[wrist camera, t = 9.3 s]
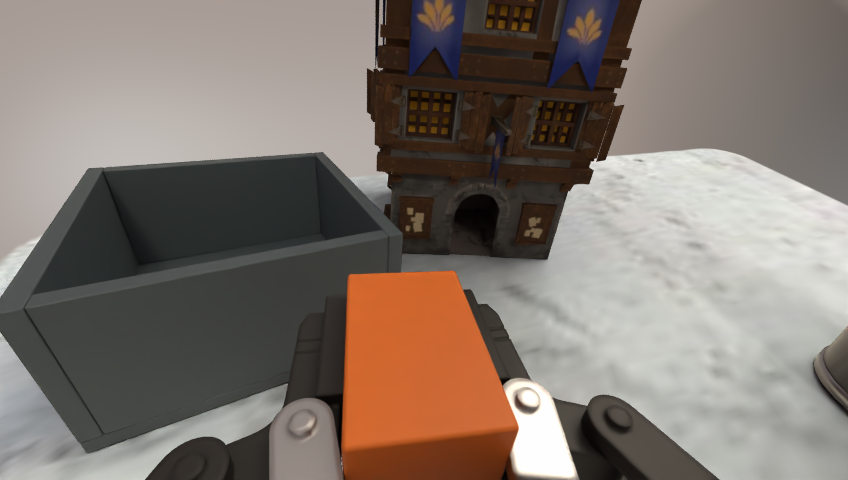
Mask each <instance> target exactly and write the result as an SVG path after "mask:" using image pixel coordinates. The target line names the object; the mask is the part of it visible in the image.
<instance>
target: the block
mask: <svg viewBox="0 0 848 480" xmlns="http://www.w3.org/2000/svg"><path fill="white" fill-rule="evenodd" d="M518 431H519V425H518V422H517V420H516V418H515V415H514V413H513V410H512V408H511V405H510V403H509V401H508V398H507V396H506V393H505V391H504V388H503V386H502V384H501V381H500V379H499V376H498V374H497V371H496V369H495V367H494V364H493V362H492V359H491V357H490V354H489V352H488V350H487V347H486V345H485V342H484V340H483V337H482V335H481V333H480V330H479V328H478V325H477V323H476V320H475V318H474V316H473V313H472V311H471V308H470V306H469V303H468V301H467V299H466V296H465V294H464V291H463V289H462V286H461V284H460V282H459V279H458V277H457V274H456V272H455V271H431V272H402V273H372V274H350V275H349V276H348V279H347V306H346V333H345V361H344V388H343V415H342V443H341V450H342V464H343V477H344V480H501V479H502V476H503V473H504V470H505V468H506V462H507V459H508V456H509V454H510V452H511V451H512V448H513V445H514V442H515V440H516V437H517V434H518Z"/></svg>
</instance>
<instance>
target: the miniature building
mask: <svg viewBox="0 0 848 480" xmlns="http://www.w3.org/2000/svg"><path fill="white" fill-rule="evenodd" d="M641 1H642V0H387V7H386V25H385V4H386V3H385V2H386V0H383V25H382V24H381V31H380V34H381V35H380V37H383V45H382V46H378V30H379V0H376V47H375V51H376V52H375V53H376V54H375V56H376V58H377V62H378V68H383V70H380V72H379V71H378V70H377V69H374V73H373V71H371V70H369V69H367V112H368V113H369V114H371V119H372V121H373V122H375V145H377V146H379V148H380V152H378V154H377V171H383V172H386V173H387V174H389V175H388V183H387V186H388V187H389V189H391V191H392V192H391V204H385V210H384V215H385V216H386V217H387V218H388V219H389V220H390V221H391V222H392V223H393V224H394V225H395V226H396V227H397V228H398V229H399V230H400V231H401V232H402V233H403V239H402V253H420V254H443V255H449V254H462V255H485V256H491V257H513V258H536V259H548V256H549V252H550V249H551V246H552V243H553V239H554V236H555V233H556V229H557V226H558V223H559V220H560V216H561V213H562V210H563V207H564V203H565V200H566V197H567V193H568V191H570V190H571V189H572V187H573V186H574V185H575V184H589V183H590V180H591V177H592V174H593V170H592V169H591V168H589V166H590V163H591V161H594V158H597V155H598V152H599V149H600V146H601V149H600V152H599V155H598V158H597V161H596V162H598V161H603V160H606V157H607V154H608V151H609V148H610V145H611V142H612V139H613V136H614V133H615V131H616V128H617V125H618V122H619V119H620V115H621V113H622V110H623V107H624V105H620V106H614V102H615V99H616V96H617V94H616V93H613V92H614V89H615V88H621V86H622V83H623V80H624V77H625V74H626V71H627V68H621V67H620V66H621V63H622V60H628V59H629V56H630V53H631V50H632V49H631V48H627V44H628V41H629V38H630V35H631V32H632V29H633V26H634V23H635V20H636V17H637V13H638V10H639V7H640V4H641ZM385 38H386V44H385V45H384V39H385ZM376 58H375V60H376ZM375 63H376V62H375ZM375 65H376V64H375ZM612 102H613V103H612ZM613 107H614V108H613ZM612 110H613V111H612ZM611 113H612V114H611ZM610 116H611V117H610ZM609 119H610V120H609ZM608 122H609V124H608ZM607 125H608V127H607ZM606 128H607V130H606ZM605 131H606V133H605ZM604 134H605V136H604ZM603 137H604V139H603ZM602 140H603V142H602ZM601 143H602V145H601ZM391 173H392V174H391ZM390 185H391V186H390Z"/></svg>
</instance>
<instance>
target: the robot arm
mask: <svg viewBox="0 0 848 480" xmlns="http://www.w3.org/2000/svg"><path fill="white" fill-rule="evenodd" d="M463 291H464V294H465V296H466V299H467V301H468V303H469V306H470V308H471V311H472V313H473V316H474V318H475V320H476V323H477V325H478V328H479V330H480V333H481V335H482V337H483V340H484V342H485V345H486V347H487V350H488V352H489V354H490V357H491V359H492V362H493V364H494V367H495V369H496V371H497V374H498V376H499V379H500V381H501V384H502V386H503V388H504V391H505V393H506V396H507V398H508V401H509V403H510V405H511V408H512V410H513V413H514V415H515V418H516V420H517V422H518V425H519V431H518V434H517V437H516V440H515V442H514V445H513V448H512V451H511V452H510V454H509V456H508V459H507V462H506V468H505V470H504V473H503V476H502V479H501V480H719V479H718V478H717V477H716V476H714V475H713V474H712V473H711V472H710V471H708V470H707V469H706V468H705V467H704V466H702V465H701V464H700V463H699V462H698V461H697V460H695V459H694V458H693V457H692V456H691V455H689V454H688V453H687V452H686V451H685V450H683V449H682V448H681V447H680V446H679V445H677V444H676V443H675V442H674V441H673V440H671V439H670V438H669V437H668V436H667V435H666V434H664V433H663V432H662V431H661V430H660V429H658V428H657V427H656V426H655V425H654V424H652V423H651V422H650V421H649V420H648V419H646V418H645V417H644V416H643V415H642V414H640V413H639V412H638V411H637V410H636V409H634V408H633V407H632V406H631V405H629V404H628V403H626V402H625V401H623V400H621V399H619V398H616V397H614V396H609V395H599V396H595V397H594V398H592V399H591V400H590V402H589V404H588V406H585V405H580V404H575V403H571V402H566V401H561V400H558V399H555V398H552V397H551V395H550V394H549V393H548V391H547V390H546V389H545V388H544V387H542V386H541V385H540V384H538V383H536V382H534V381H532V380H531V379H530V377H529V375H528V373H527V371H526V369H525V367H524V365H523V363H522V361H521V359H520V357H519V355H518V353H517V351H516V349H515V347H514V345H513V343H512V341H511V339H509V335H508V333H507V331H506V329H504V325H503V323H502V321H501V319H500V317H499V315H498V314H497V313H496V312H495V311H494V310H493V309H492V308H491V307H490V306H488V305H487V304H478V303H477V301H476V299H475V297H474V294H473V292H472V291H471V290H470V289H469V290H463ZM346 306H347V295H332V296H326V302H325V310H324V312H322V313H309V314H308V315H307V316H306V318H305V319H304V320H303V322H302V323H301V324H300V326H299V330H298V335H297V343H296V346H295V351H294V356H293V361H292V367H291V372H290V377H289V382H288V387H287V393H286V398H285V402H284V405H283V407H282V409H281V410H280V412H279V413H278V414H277V415H276V417H275V418H274V420H273V421H272V422H271V423H270V424H268V425H267V426H266V427H265V428H263V429H261V430H260V431H258V432H256V433H254V434H252V435H249V436H247V437H244V438H242V439H240V440H237V441H235V442H232V443H230V444H227V445H225V443H224V442H223V441H221V440H220V439H217V438H214V437H200V438H196V439H192V440H190V441H187V442H185V443H183V444H181V445H180V446H178V447H177V448H175V449H174V450H172V451H171V452H170V453H169V454H168V455H166V456H165V457H164V458H163V460H162V461H161V462H160V463H159V464H158V465H157V466H156V468H155V469H154V470H153V471H152V472H151V473H150V475H149V476H148V477H147V478H146V479H145V480H344V478H343V471H342V465H341V457H342V450H341V443H342V415H343V388H344V361H345V333H346ZM814 367H815V371H816V374H817V376H818V377H819V379H820V381H821V382H822V384H823V385H824V386H825V388H826V389H827V390H828V391H829V392H830V393H831V395H832V396H833V397H834V398H835V399H836V400H837V401H838V402H839V403H840V404H841V405H842V406H844V407H845V408H846V409H847V410H848V326H847V327H846V328H845V329H844V330H843V332H842V333H841V334H840V335H839V336H838V337H837V338H836V339H835V340H834V342H833V343H832V344H831V345H829V346H827V347H825V348H824V349H823V350H822V351H821V352H820V353H819V354H818V355H817V357H816V358H815V361H814Z"/></svg>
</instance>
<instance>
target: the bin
mask: <svg viewBox="0 0 848 480" xmlns="http://www.w3.org/2000/svg"><path fill="white" fill-rule="evenodd" d="M402 239H403V233H402V232H401V231H400V230H399V229H398V228H397V227H396V226H395V225H394V224H393V223H392V222H391V221H390V220H389V219H388V218H387V217H386V216H385V215H384V214H383V213H382V212H381V211H380V210H379V209H378V208H377V207H376V206H375V205H374V204H373V203H372V202H371V201H370V200H369V199H368V198H367V197H366V196H365V195H364V194H363V193H362V192H361V191H360V190H359V189H358V188H357V186H356V185H355V184H354V183H353V182H352V181H351V180H350V179H349V178H348V177H347V176H346V175H345V174H344V173H343V172H342V171H341V170H340V169H339V168H338V167H337V166H336V165H335V164H334V163H333V162H332V161H331V160H330V159H329V158H328V157H327V156H326V155H325V154H324V153H323V152H320V153H306V154H294V155H293V154H292V155H278V156H263V157H249V158H234V159H221V160H205V161H191V162H178V163H163V164H148V165H134V166H120V167H106V168H89V169H88V170H87V171H86V173H85V174H84V175H83V177H82V178H81V180H80V181H79V183H78V184H77V186H76V187H75V189H74V190H73V192H72V193H71V195H70V196H69V198H68V199H67V201H66V202H65V203H64V205H63V206H62V208H61V210H60V211H59V212H58V214H57V215H56V217H55V218H54V220H53V221H52V223H51V224H50V226H49V227H48V229H47V230H46V231H45V233H44V234H43V236H42V237H41V239H40V240H39V242H38V243H37V245H36V246H35V248H34V249H33V251H32V252H31V254H30V255H29V256H28V258H27V259H26V261H25V262H24V264H23V265H22V267H21V268H20V270H19V271H18V273H17V274H16V276H15V277H14V279H13V280H12V282H11V283H10V284H9V286H8V287H7V289H6V290H5V292H4V293H3V295H2V296H1V298H0V332H1V334H2V335H3V336H4V338H5V339H6V341H7V342H8V343H9V345H10V346H11V348H12V349H13V350H14V352H15V353H16V355H17V356H18V357H19V359H20V360H21V362H22V363H23V365H24V366H25V367H26V369H27V370H28V372H29V373H30V374H31V376H32V377H33V379H34V380H35V381H36V383H37V384H38V386H39V387H40V388H41V390H42V391H43V393H44V394H45V396H46V397H47V398H48V400H49V401H50V403H51V404H52V405H53V407H54V408H55V410H56V411H57V412H58V414H59V415H60V417H61V418H62V419H63V421H64V422H65V424H66V425H67V427H68V428H69V429H70V431H71V432H72V434H73V435H74V436H75V438H76V439H77V441H78V442H79V443H80V444H81V445H82V447H83V448H84V450H85V451H86V452H87V453H90V452H92V451H95V450H98V449H101V448H104V447H106V446H109V445H112V444H115V443H118V442H120V441H123V440H126V439H129V438H132V437H135V436H137V435H140V434H143V433H146V432H149V431H151V430H154V429H157V428H160V427H163V426H165V425H168V424H171V423H174V422H177V421H180V420H182V419H185V418H188V417H191V416H194V415H196V414H199V413H202V412H205V411H208V410H211V409H213V408H216V407H219V406H222V405H225V404H227V403H230V402H233V401H236V400H239V399H241V398H244V397H247V396H250V395H253V394H256V393H258V392H261V391H264V390H267V389H270V388H272V387H275V386H278V385H281V384H284V383H286V382H289V377H290V372H291V367H292V361H293V356H294V351H295V346H296V343H297V335H298V330H299V326H300V324H301V323H302V322H303V320H304V319H305V318H306V316H307V315H308V314H309V313H322V312H324V310H325V302H326V296H332V295H347V279H348V276H349V275H350V274H372V273H401V257H402Z"/></svg>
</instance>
